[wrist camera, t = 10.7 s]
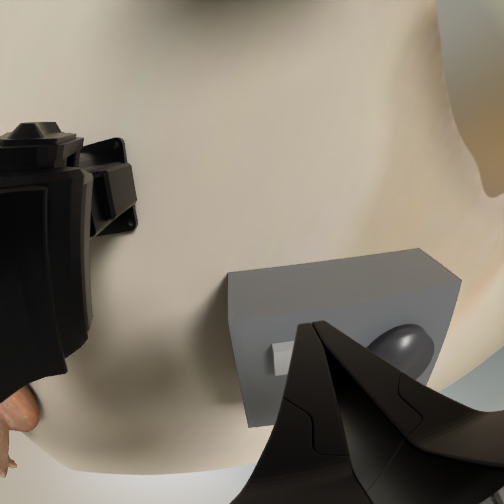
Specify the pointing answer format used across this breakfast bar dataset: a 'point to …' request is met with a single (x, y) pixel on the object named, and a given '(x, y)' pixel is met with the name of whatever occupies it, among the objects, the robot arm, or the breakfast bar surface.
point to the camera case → (337, 317)
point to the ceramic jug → (16, 422)
